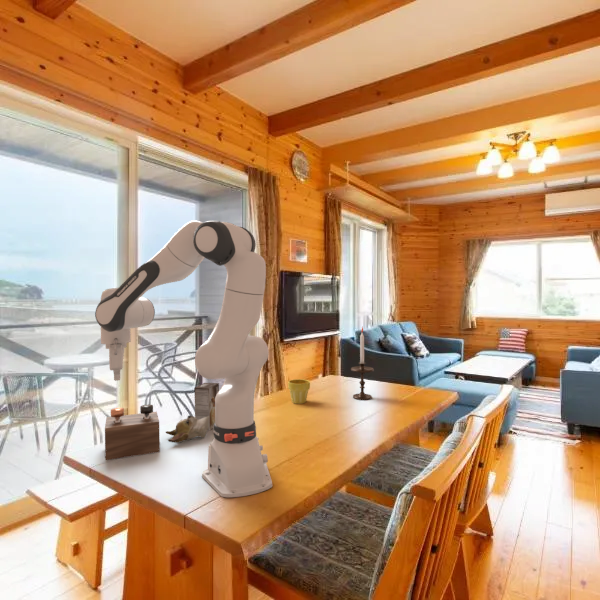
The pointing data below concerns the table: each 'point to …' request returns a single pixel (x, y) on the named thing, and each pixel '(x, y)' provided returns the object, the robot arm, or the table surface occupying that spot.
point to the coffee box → (206, 402)
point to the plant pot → (298, 390)
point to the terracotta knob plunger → (117, 413)
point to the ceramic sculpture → (189, 429)
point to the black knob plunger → (146, 410)
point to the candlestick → (362, 371)
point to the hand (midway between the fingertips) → (117, 379)
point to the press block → (131, 436)
